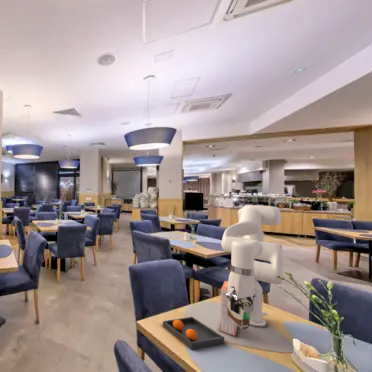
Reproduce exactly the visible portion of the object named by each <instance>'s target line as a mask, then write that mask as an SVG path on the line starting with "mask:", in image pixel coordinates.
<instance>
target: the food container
mask: <svg viewBox="0 0 372 372" xmlns="http://www.w3.org/2000/svg"><path fill="white" fill-rule="evenodd" d="M235 296H237V295H235ZM226 297H227V295H226ZM234 299H235V300H236V297H234ZM238 304H239V313H238V314H237V313H235V312H233V311H231V310H230V301H229V299H228V297H227V316H228V317H229V318H230V319H231V320H233V321H234V322H235V323H236V324H237V325H238V327H239V328H240V329H241V330H246V329H249V328H250V324H249V323H250V317H251V312H253V311H254V308H253V305H252V303H251V302H250V301H249V300H247V299H245V298H240V300H239V302H238Z"/></svg>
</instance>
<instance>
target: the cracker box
mask: <svg viewBox="0 0 372 372" xmlns="http://www.w3.org/2000/svg"><path fill="white" fill-rule="evenodd" d="M227 293H228V280H225V281H224V282H223V285H222V286H221V288H220V332H221V333H222V332H223V333H226V334H228V335H230V336H233V337H236V334H237V331H238V327H239V326H238V325H237V324H236V323H235V322H234V321H233V320H231V319H230V318H229V317H228V316H227V297H226V294H227ZM235 295H236V294H235Z"/></svg>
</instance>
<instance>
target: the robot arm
mask: <svg viewBox="0 0 372 372" xmlns="http://www.w3.org/2000/svg"><path fill="white" fill-rule="evenodd" d="M237 218H238V222H236V223H234V224H232V225H230V226H228V227H227V228H226V229H225V230H224V232H223V235H222V238H221V244H220V245H221V248H222V250H223V252H227V253H231V254H230V255H231V256H230V257H231V260H230V272H229V275H228V280H227V281H228V293H227V294H226V295H227V297H228V299H229V301H230V310H231V311H233V312H235V313H237V314H238V313H239V304H238V302H239V300H240V298H245V299H247V300H249V301H250V302H251V303H252V305H253V308H254V311H253V312H251V317H250V323H249V326H254V327H265V326H267V321H266V320H265V319H264V318H263V317H265V316H268V313H267V311H264V310H263V293H264V292H263V287H262V286H261V284H260V283H259V282H264V283H267V284H273V285H281V284H282V283H283V280H284V279H283V280H281V279H279V278H277V277H276V276H275V275H276V274H277V275H281V276H282V277H283V278H284V250H283V248H282V246H281V245H279V244H277V243H274V242H273V243H272V242H266V241H264V239H265V233H264V232H263V230H262V225H265V226H279V225H280V224H281V222H282V213H281V210H280V209H279V208H278V207H276V206H273V205H257V204H256V205H255V204H248V205H245V206H243V207H242V208H239V209H238V211H237ZM259 260H260V261H259ZM262 261H263V262H262ZM258 281H259V282H258ZM235 294H236V295H237V296H235ZM234 297H236V300H235V299H234Z"/></svg>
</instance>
